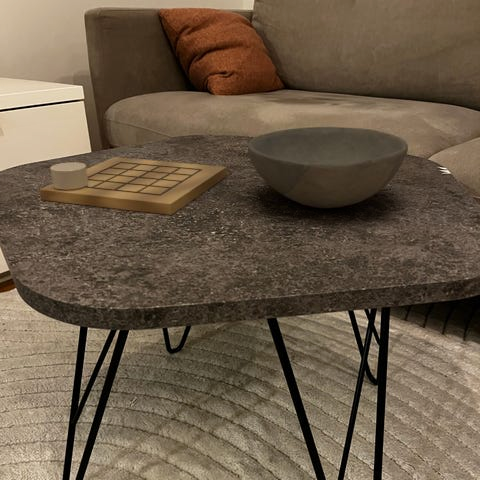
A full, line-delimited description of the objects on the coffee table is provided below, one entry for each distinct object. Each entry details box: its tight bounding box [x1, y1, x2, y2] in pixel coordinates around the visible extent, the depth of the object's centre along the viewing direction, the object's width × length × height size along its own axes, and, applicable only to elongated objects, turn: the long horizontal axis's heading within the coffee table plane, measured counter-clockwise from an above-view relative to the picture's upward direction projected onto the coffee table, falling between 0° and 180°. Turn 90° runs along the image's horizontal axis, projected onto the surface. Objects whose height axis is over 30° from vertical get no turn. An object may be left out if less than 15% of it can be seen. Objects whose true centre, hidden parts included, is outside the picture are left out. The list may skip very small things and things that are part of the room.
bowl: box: [246, 126, 409, 209], centre depth 80 cm, size 21×21×8 cm
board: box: [39, 156, 228, 216], centre depth 87 cm, size 20×20×2 cm
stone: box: [49, 161, 88, 190], centre depth 82 cm, size 5×5×3 cm
